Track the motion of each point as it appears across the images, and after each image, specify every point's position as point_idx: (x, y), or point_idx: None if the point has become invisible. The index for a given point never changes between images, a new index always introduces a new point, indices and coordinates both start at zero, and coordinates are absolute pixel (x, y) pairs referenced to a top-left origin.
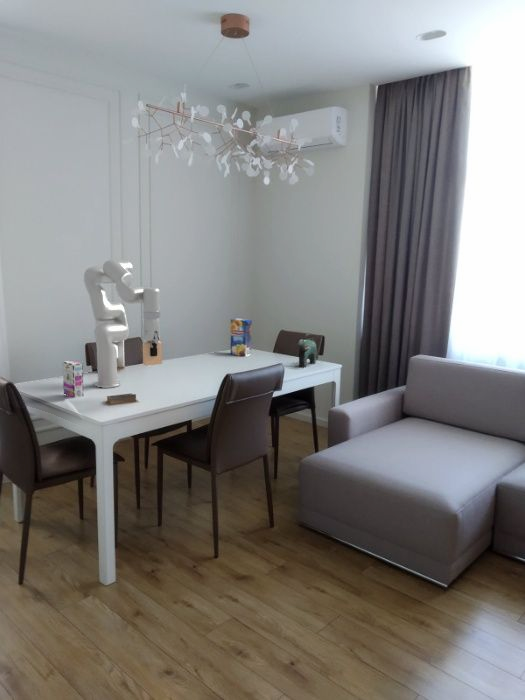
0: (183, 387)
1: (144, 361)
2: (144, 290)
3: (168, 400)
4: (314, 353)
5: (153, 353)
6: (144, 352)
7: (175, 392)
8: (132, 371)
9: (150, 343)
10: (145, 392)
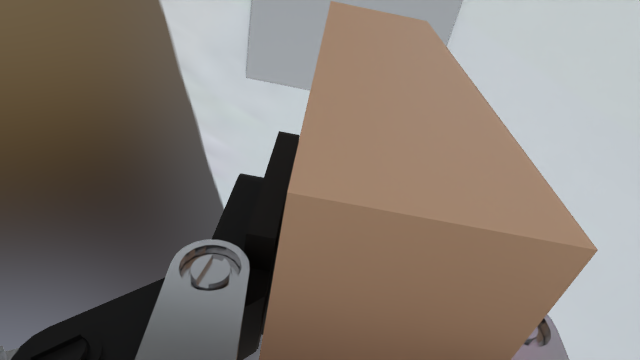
0: None
1: (363, 19)
2: None
3: (275, 84)
4: None
5: (237, 189)
6: (354, 66)
7: None
8: None
9: (261, 351)
10: (531, 76)
